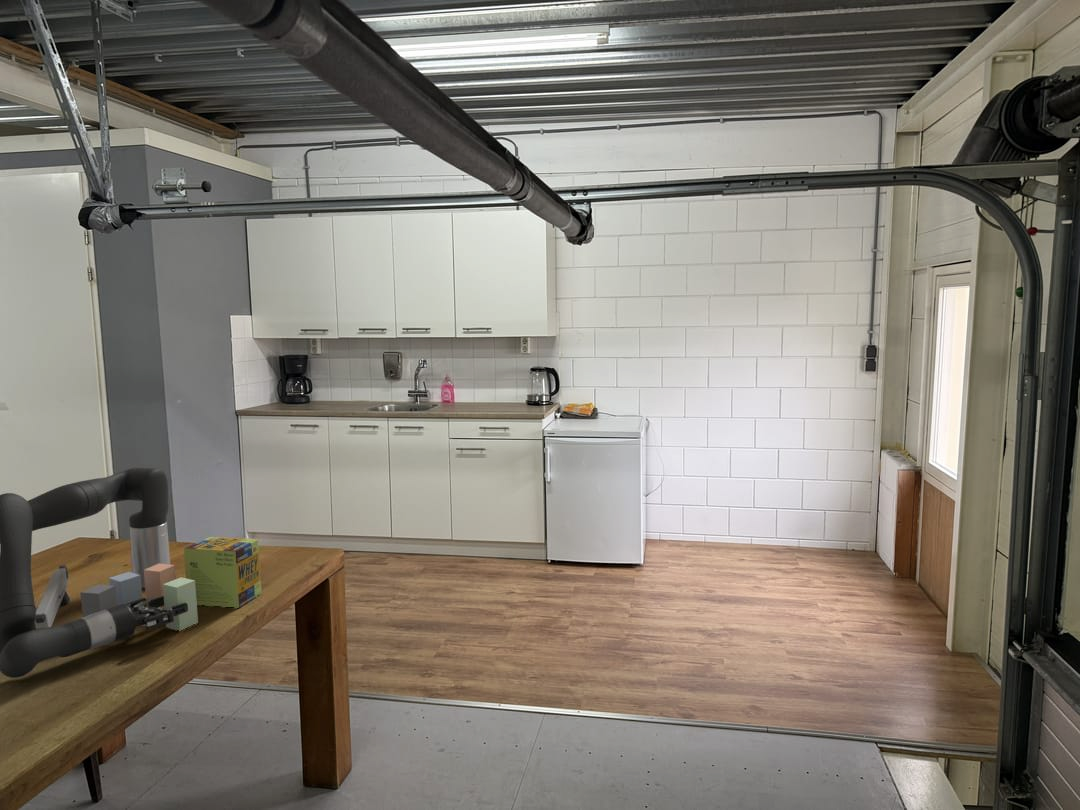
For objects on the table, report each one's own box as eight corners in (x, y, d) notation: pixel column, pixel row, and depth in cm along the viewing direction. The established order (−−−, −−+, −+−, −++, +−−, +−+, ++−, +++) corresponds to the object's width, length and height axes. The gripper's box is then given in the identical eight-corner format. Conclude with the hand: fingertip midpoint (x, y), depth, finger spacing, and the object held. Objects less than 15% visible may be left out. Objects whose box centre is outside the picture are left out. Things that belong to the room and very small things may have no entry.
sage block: (166, 627, 174) (162, 584, 173) (184, 619, 178) (181, 577, 177) (180, 631, 172) (176, 587, 170) (198, 623, 176) (194, 580, 175)
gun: (73, 591, 195) (68, 559, 191) (51, 650, 173) (45, 615, 169) (62, 593, 194) (57, 561, 190) (39, 651, 172) (32, 616, 168)
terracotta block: (147, 611, 184) (143, 569, 183) (162, 603, 189) (159, 563, 187) (163, 613, 183) (159, 571, 181) (177, 605, 187) (174, 565, 186)
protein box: (239, 609, 185) (235, 551, 183) (187, 605, 188) (182, 548, 186) (262, 593, 195) (259, 538, 193) (212, 590, 198) (208, 535, 196)
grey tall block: (84, 636, 169) (80, 592, 168) (101, 627, 174) (97, 584, 173) (102, 638, 168) (98, 593, 167) (119, 629, 173) (115, 585, 172)
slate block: (112, 620, 179) (108, 578, 177) (132, 613, 183) (129, 571, 181) (123, 624, 176) (120, 581, 175) (143, 617, 180) (140, 575, 179)
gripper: (119, 618, 156) (192, 594, 169) (91, 603, 165) (162, 581, 178) (122, 650, 157) (194, 624, 170) (94, 634, 166) (164, 610, 179)
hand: (177, 602), depth 174 cm, fingers open, 8 cm apart
